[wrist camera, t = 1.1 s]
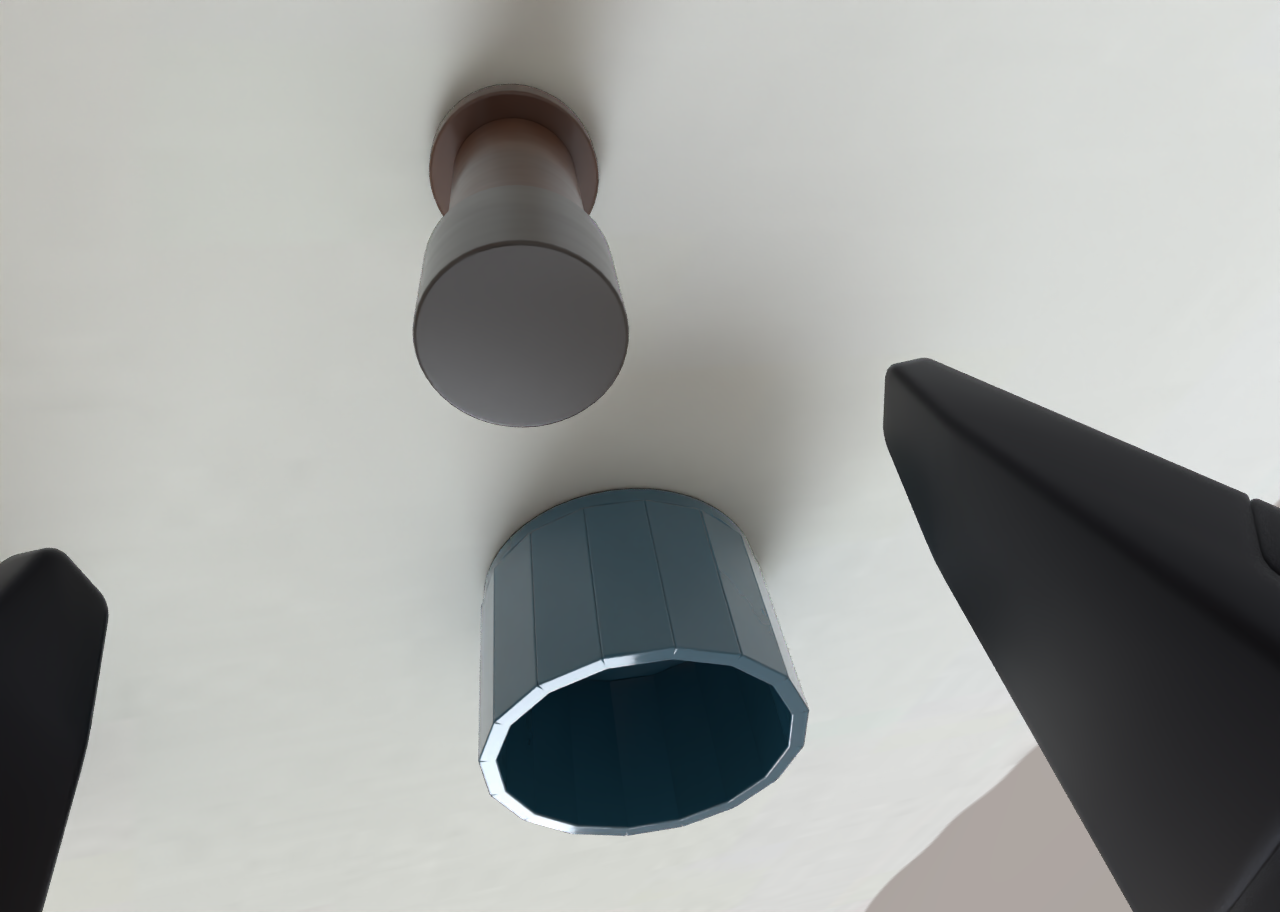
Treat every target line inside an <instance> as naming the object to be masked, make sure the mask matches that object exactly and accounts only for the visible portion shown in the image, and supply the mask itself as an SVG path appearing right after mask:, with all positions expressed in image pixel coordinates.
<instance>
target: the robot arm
mask: <svg viewBox="0 0 1280 912" xmlns="http://www.w3.org/2000/svg"><path fill="white" fill-rule="evenodd" d="M883 430H884V437H885V441H886V445H887V447H888V450H889V453H890V455H891V457H892V460H893V462H894V465H895V467H896V469H897V472H898V474H899V477H900V479H901V482H902V484H903V486H904V489H905V491H906V494H907V496H908V499H909V501H910V503H911V506H912V508H913V511H914V513H915V515H916V518H917V520H918V523H919V525H920V528H921V530H922V532H923V535H924V537H925V540H926V542H927V544H928V547H929V549H930V551H931V553H932V556H933V558H934V560H935V562H936V564H937V566H938V568H939V570H940V571H941V573H942V575H943V577H944V579H945V581H946V583H947V584H948V586H949V588H950V590H951V591H952V593H953V595H954V597H955V598H956V600H957V602H958V604H959V605H960V607H961V609H962V611H963V613H964V614H965V616H966V618H967V620H968V621H969V623H970V625H971V627H972V628H973V630H974V632H975V634H976V635H977V637H978V639H979V641H980V643H981V644H982V646H983V648H984V650H985V651H986V653H987V655H988V657H989V658H990V660H991V662H992V664H993V665H994V667H995V669H996V671H997V672H998V674H999V676H1000V678H1001V680H1002V681H1003V683H1004V685H1005V687H1006V688H1007V690H1008V692H1009V694H1010V695H1011V697H1012V699H1013V701H1014V702H1015V704H1016V706H1017V708H1018V710H1019V711H1020V713H1021V715H1022V717H1023V718H1024V720H1025V722H1026V724H1027V725H1028V727H1029V729H1030V731H1031V732H1032V734H1033V736H1034V738H1035V740H1036V741H1037V743H1038V745H1039V747H1040V748H1041V750H1042V752H1043V754H1044V755H1045V757H1046V759H1047V761H1048V762H1049V764H1050V766H1051V768H1052V769H1053V771H1054V773H1055V775H1056V777H1057V778H1058V780H1059V782H1060V783H1061V785H1062V787H1063V789H1064V791H1065V792H1066V794H1067V796H1068V798H1069V799H1070V801H1071V803H1072V805H1073V806H1074V808H1075V810H1076V812H1077V814H1078V815H1079V817H1080V819H1081V821H1082V822H1083V824H1084V826H1085V828H1086V829H1087V831H1088V833H1089V835H1090V836H1091V838H1092V840H1093V842H1094V843H1095V845H1096V847H1097V849H1098V851H1099V852H1100V854H1101V856H1102V858H1103V859H1104V861H1105V863H1106V865H1107V866H1108V868H1109V870H1110V872H1111V873H1112V875H1113V877H1114V879H1115V881H1116V882H1117V884H1118V886H1119V888H1120V889H1121V891H1122V893H1123V895H1124V896H1125V898H1126V900H1127V901H1128V903H1129V905H1130V907H1131V909H1132V911H1133V912H1280V508H1278V507H1276V506H1274V505H1271V504H1269V503H1267V502H1264V501H1262V500H1260V499H1253V500H1251V501H1250V500H1249V497H1248V495H1247V494H1245V493H1243V492H1240V491H1238V490H1236V489H1233V488H1231V487H1229V486H1226V485H1224V484H1222V483H1219V482H1217V481H1215V480H1212V479H1210V478H1208V477H1205V476H1203V475H1201V474H1198V473H1196V472H1194V471H1191V470H1189V469H1187V468H1184V467H1182V466H1180V465H1177V464H1175V463H1173V462H1170V461H1168V460H1166V459H1163V458H1161V457H1159V456H1156V455H1154V454H1152V453H1149V452H1147V451H1145V450H1142V449H1140V448H1138V447H1135V446H1133V445H1131V444H1128V443H1126V442H1124V441H1121V440H1119V439H1117V438H1114V437H1112V436H1110V435H1107V434H1105V433H1103V432H1100V431H1098V430H1096V429H1093V428H1091V427H1089V426H1086V425H1084V424H1082V423H1079V422H1077V421H1075V420H1072V419H1070V418H1068V417H1065V416H1063V415H1061V414H1058V413H1056V412H1054V411H1051V410H1049V409H1047V408H1044V407H1042V406H1040V405H1037V404H1035V403H1032V402H1030V401H1028V400H1025V399H1023V398H1021V397H1018V396H1016V395H1014V394H1011V393H1009V392H1007V391H1004V390H1002V389H1000V388H997V387H995V386H993V385H990V384H988V383H986V382H983V381H981V380H979V379H976V378H974V377H972V376H969V375H967V374H965V373H962V372H960V371H958V370H955V369H953V368H951V367H948V366H946V365H944V364H941V363H939V362H937V361H934V360H932V359H929V358H919V359H914V360H910V361H905V362H901V363H896V364H893V365H891V366H890V367H889V368H888V369H887V373H886V376H885V393H884V417H883ZM107 624H108V607H107V603H106V601H105V599H104V597H103V595H102V594H101V592H100V591H99V590H98V589H97V588H96V587H95V586H94V585H93V584H92V582H91V581H90V580H89V579H88V578H87V577H86V576H85V575H84V574H83V572H82V571H81V570H80V569H79V568H78V567H77V566H76V565H75V564H74V563H73V561H72V560H71V559H70V558H69V557H68V556H67V555H66V554H65V553H64V552H62V551H60V550H58V549H55V548H44V549H39V550H35V551H30V552H25V553H21V554H17V555H14V556H11V557H9V558H7V559H6V560H4V561H3V562H2V563H0V912H42V911H43V907H44V903H45V900H46V896H47V892H48V889H49V885H50V882H51V878H52V874H53V871H54V867H55V864H56V860H57V856H58V853H59V849H60V845H61V842H62V838H63V835H64V831H65V827H66V824H67V820H68V816H69V813H70V809H71V806H72V802H73V798H74V795H75V791H76V787H77V784H78V780H79V777H80V773H81V769H82V765H83V761H84V757H85V753H86V749H87V745H88V740H89V734H90V729H91V724H92V718H93V711H94V705H95V699H96V693H97V686H98V680H99V674H100V668H101V661H102V655H103V649H104V643H105V636H106V630H107Z"/></svg>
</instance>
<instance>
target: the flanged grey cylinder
mask: <svg viewBox="0 0 1280 912" xmlns="http://www.w3.org/2000/svg"><path fill="white" fill-rule="evenodd" d="M429 177H430V184H431V189H432V192H433V196H434V199H435V201H436V204H437V206H438V208H439V210H440V212H441V213H442V215H443V218H442V219H441V220H440V221H439V222H438V224H437V226H436V227H435V229H434V230H433V232H432V234H431V236H430V238H429V241H428V243H427V247H426V250H425V254H424V260H423V266H422V272H421V278H420V284H419V290H418V296H417V302H416V308H415V315H414V322H413V343H414V348H415V353H416V356H417V359H418V362H419V365H420V367H421V369H422V371H423V372H424V374H425V376H426V378H427V379H428V380H429V382H430V383H431V385H432V386H433V387H434V388H435V390H436V391H437V392H438V393H439V394H440V395H441V396H442V397H443V398H444V399H445V400H447V401H448V402H449V403H450V404H451V405H453V406H454V407H456V408H457V409H459V410H461V411H462V412H464V413H466V414H468V415H470V416H472V417H474V418H477V419H479V420H482V421H485V422H488V423H492V424H496V425H502V426H509V427H536V426H542V425H548V424H552V423H556V422H559V421H562V420H565V419H567V418H570V417H572V416H574V415H576V414H578V413H580V412H582V411H583V410H585V409H586V408H588V407H589V406H591V405H592V404H593V403H595V402H596V401H597V400H598V399H599V398H600V397H601V396H603V395H604V393H605V392H606V391H607V390H608V389H609V388H610V386H611V385H612V384H613V382H614V381H615V379H616V377H617V376H618V374H619V372H620V370H621V368H622V366H623V364H624V360H625V357H626V354H627V349H628V343H629V326H628V319H627V314H626V310H625V306H624V302H623V298H622V294H621V290H620V286H619V282H618V278H617V275H616V271H615V267H614V263H613V259H612V255H611V252H610V249H609V245H608V243H607V241H606V239H605V237H604V235H603V233H602V231H601V230H600V228H599V227H598V225H597V224H596V223H595V221H594V220H593V219H592V218H591V217H590V216H589V215H590V213H591V211H592V209H593V206H594V203H595V200H596V196H597V192H598V183H599V172H598V164H597V159H596V155H595V152H594V148H593V145H592V141H591V139H590V137H589V135H588V132H587V131H586V129H585V127H584V125H583V124H582V122H581V121H580V120H579V118H578V117H577V116H576V115H575V113H574V112H573V111H572V110H571V109H570V108H569V107H568V106H567V105H565V104H564V103H563V102H561V101H560V100H559V99H557V98H556V97H554V96H552V95H550V94H549V93H547V92H544V91H542V90H539V89H537V88H533V87H529V86H525V85H517V84H501V85H495V86H490V87H486V88H483V89H480V90H478V91H476V92H474V93H472V94H470V95H468V96H467V97H465V98H464V99H462V100H461V101H459V102H458V103H457V104H456V105H455V106H454V107H453V108H452V109H451V110H450V111H449V112H448V114H447V115H446V116H445V117H444V119H443V121H442V122H441V124H440V126H439V128H438V130H437V133H436V135H435V138H434V141H433V145H432V150H431V155H430V163H429Z"/></svg>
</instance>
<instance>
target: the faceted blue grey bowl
mask: <svg viewBox="0 0 1280 912" xmlns="http://www.w3.org/2000/svg"><path fill="white" fill-rule="evenodd" d="M808 713H809V709H808V705H807V702H806V699H805V696H804V693H803V690H802V688H801V685H800V682H799V679H798V676H797V673H796V670H795V667H794V664H793V661H792V659H791V656H790V653H789V650H788V647H787V644H786V641H785V638H784V635H783V633H782V630H781V627H780V624H779V621H778V618H777V615H776V612H775V609H774V607H773V604H772V601H771V598H770V595H769V592H768V589H767V586H766V583H765V580H764V578H763V575H762V572H761V569H760V566H759V565H758V563H757V561H756V559H755V558H754V555H753V552H752V549H751V547H750V545H749V543H748V541H747V538H746V537H745V536H744V534H743V533H742V531H741V530H740V528H739V527H738V526H737V525H736V524H735V523H734V522H733V521H732V520H731V519H730V518H729V517H727V516H726V515H725V514H723V513H722V512H720V511H719V510H718V509H716V508H714V507H712V506H711V505H709V504H707V503H705V502H703V501H700V500H698V499H695V498H692V497H690V496H687V495H683V494H679V493H674V492H670V491H663V490H655V489H621V490H610V491H605V492H599V493H594V494H590V495H586V496H583V497H579V498H576V499H573V500H570V501H568V502H565V503H563V504H560V505H558V506H555V507H553V508H551V509H550V510H548V511H546V512H544V513H542V514H540V515H538V516H537V517H535V518H534V519H532V520H531V521H530V522H528V523H527V524H525V525H524V526H523V527H522V528H520V529H519V530H518V531H517V532H516V533H515V534H514V535H512V536H511V538H510V539H509V540H508V541H507V542H506V543H505V544H504V546H503V547H502V548H501V550H500V551H499V553H498V554H497V556H496V557H495V559H494V560H493V562H492V565H491V567H490V569H489V572H488V574H487V578H486V583H485V590H484V600H483V603H482V606H481V650H480V699H479V749H478V762H479V765H480V768H481V771H482V774H483V777H484V780H485V782H486V785H487V788H488V791H489V794H490V795H491V796H492V797H493V798H494V799H496V800H497V801H498V802H500V803H501V804H502V805H504V806H505V807H506V808H507V809H509V810H510V811H511V812H513V813H514V814H515V815H517V816H518V817H519V818H521V819H522V820H524V821H527V822H531V823H534V824H538V825H541V826H545V827H548V828H552V829H555V830H559V831H562V832H566V833H572V834H588V835H617V836H625V835H627V836H628V835H635V834H641V833H647V832H653V831H659V830H665V829H671V828H677V827H682V826H686V825H689V824H691V823H694V822H697V821H700V820H702V819H705V818H708V817H710V816H713V815H716V814H719V813H721V812H724V811H727V810H729V809H732V808H734V807H736V806H738V805H739V804H741V803H743V802H744V801H746V800H747V799H749V798H750V797H752V796H753V795H755V794H756V793H758V792H759V791H761V790H762V789H764V788H765V787H767V786H768V785H770V784H772V783H773V782H775V781H776V780H777V779H778V778H779V777H780V776H781V775H782V773H783V772H784V771H785V769H786V768H787V767H788V766H789V764H790V763H791V762H792V761H793V759H794V758H795V757H796V755H797V754H798V753H799V752H800V750H801V749H802V748H803V745H804V742H805V735H806V728H807V721H808Z"/></svg>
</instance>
